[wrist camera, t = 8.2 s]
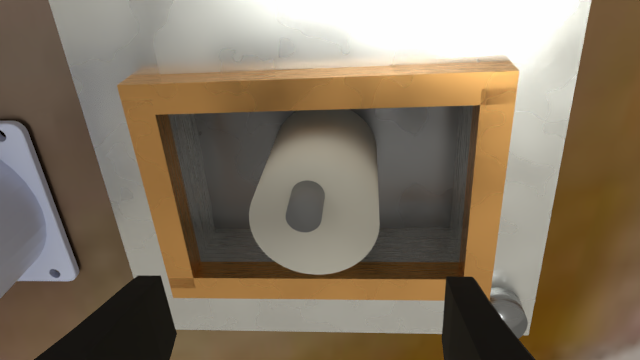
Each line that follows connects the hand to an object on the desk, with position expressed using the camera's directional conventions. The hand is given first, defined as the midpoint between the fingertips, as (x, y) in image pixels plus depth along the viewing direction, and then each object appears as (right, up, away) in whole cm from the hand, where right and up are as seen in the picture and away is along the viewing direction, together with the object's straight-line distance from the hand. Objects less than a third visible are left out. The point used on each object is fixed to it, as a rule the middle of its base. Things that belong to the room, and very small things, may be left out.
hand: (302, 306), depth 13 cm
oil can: (+1, +4, +7) cm, 8 cm away
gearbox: (+1, +4, +7) cm, 8 cm away
